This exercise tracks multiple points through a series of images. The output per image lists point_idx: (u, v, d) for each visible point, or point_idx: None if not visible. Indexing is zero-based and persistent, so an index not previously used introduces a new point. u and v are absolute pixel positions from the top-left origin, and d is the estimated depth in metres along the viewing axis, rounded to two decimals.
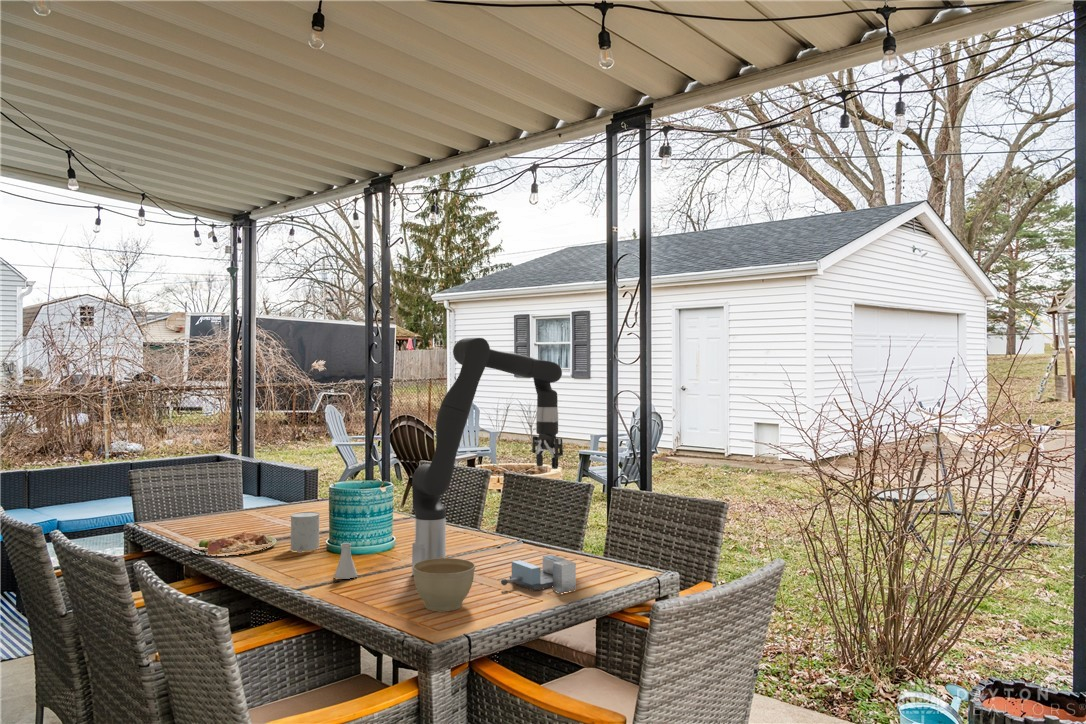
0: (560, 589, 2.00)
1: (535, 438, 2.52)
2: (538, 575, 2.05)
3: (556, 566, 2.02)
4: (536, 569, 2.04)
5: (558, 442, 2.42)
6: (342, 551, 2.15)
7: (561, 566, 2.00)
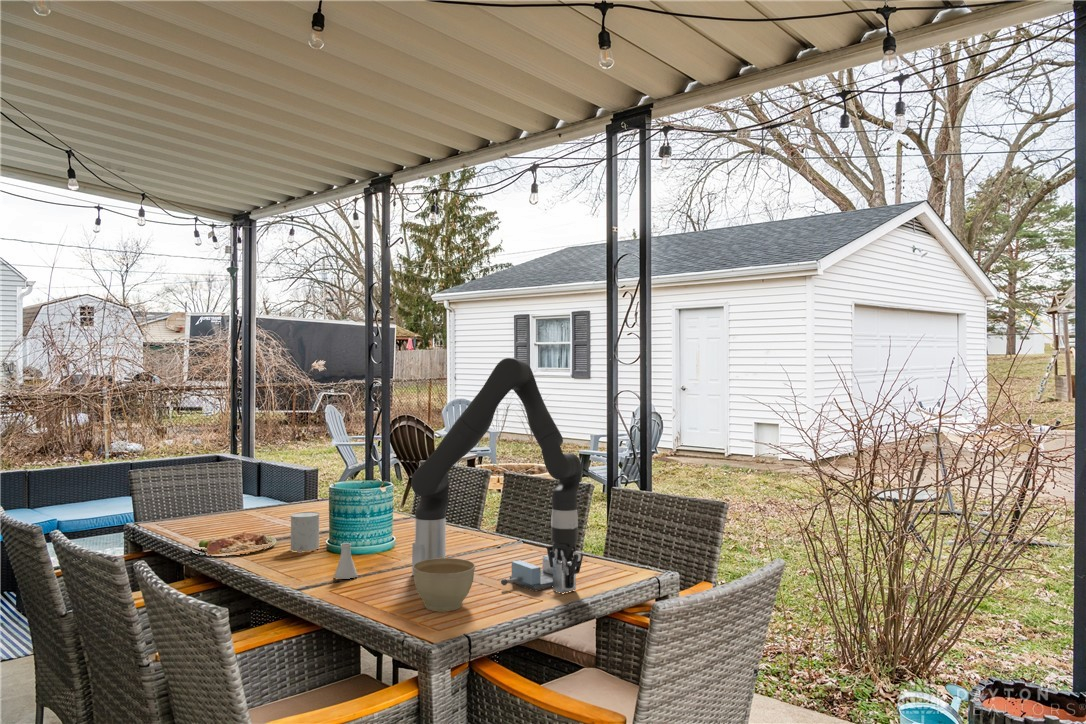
0: (560, 589, 2.00)
1: (550, 548, 2.07)
2: (538, 575, 2.05)
3: (556, 566, 2.02)
4: (536, 569, 2.04)
5: (577, 560, 1.97)
6: (342, 551, 2.15)
7: (561, 566, 2.00)
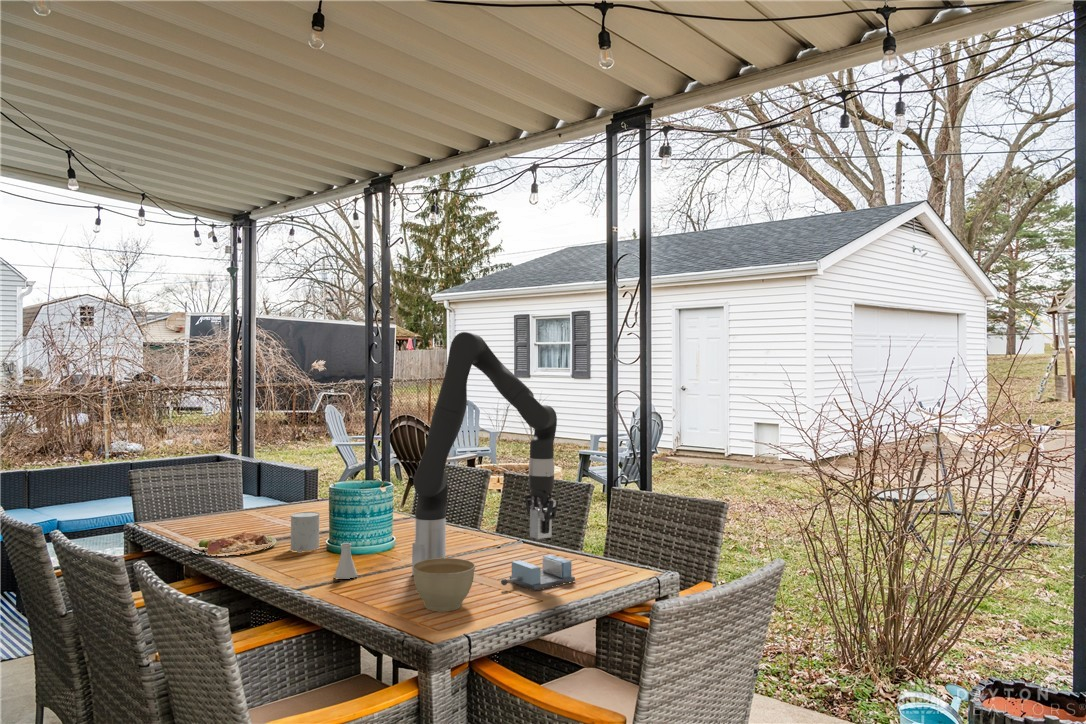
0: (536, 534, 2.09)
1: (528, 496, 2.16)
2: (538, 575, 2.05)
3: (532, 512, 2.11)
4: (536, 569, 2.04)
5: (552, 505, 2.06)
6: (342, 551, 2.15)
7: (537, 512, 2.09)
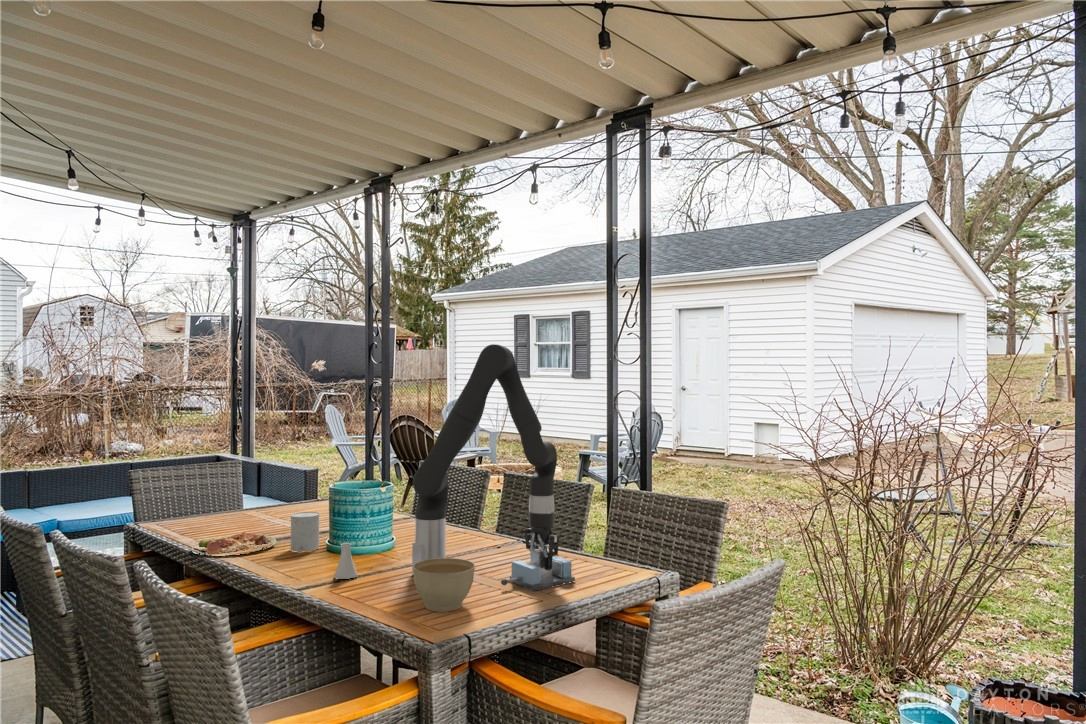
0: None
1: (528, 531, 2.16)
2: (538, 575, 2.05)
3: (533, 553, 2.11)
4: (536, 569, 2.04)
5: (554, 541, 2.06)
6: (342, 551, 2.15)
7: (538, 553, 2.09)
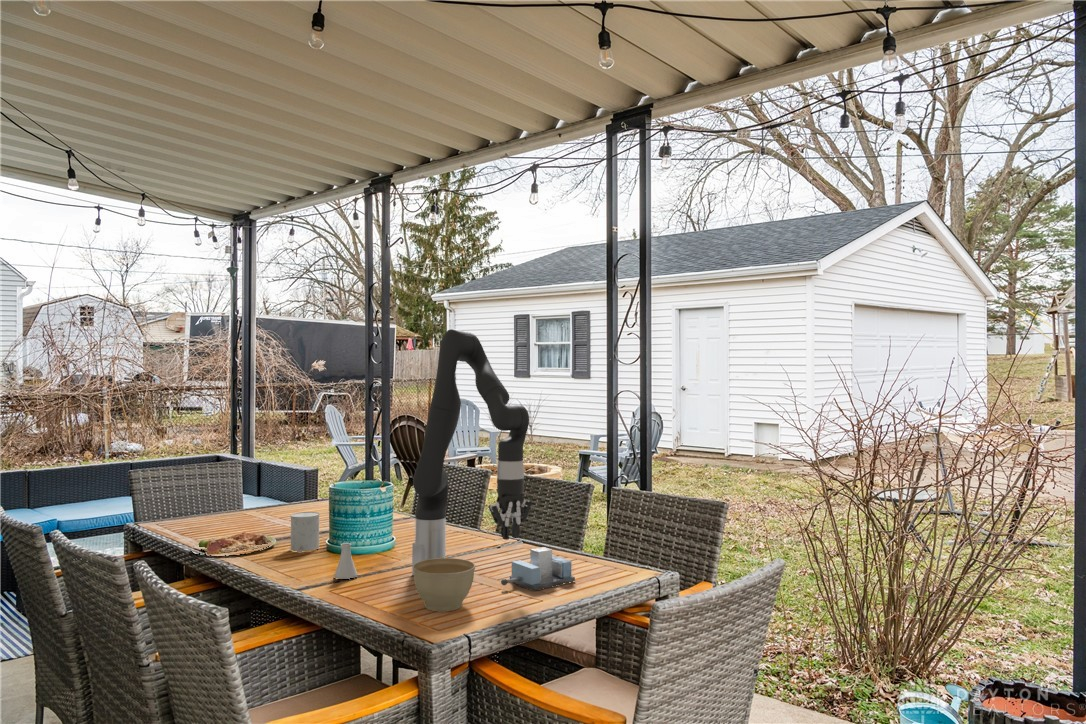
0: None
1: None
2: (538, 575, 2.05)
3: (533, 553, 2.11)
4: (536, 569, 2.04)
5: (491, 510, 1.98)
6: (342, 551, 2.15)
7: (538, 553, 2.09)
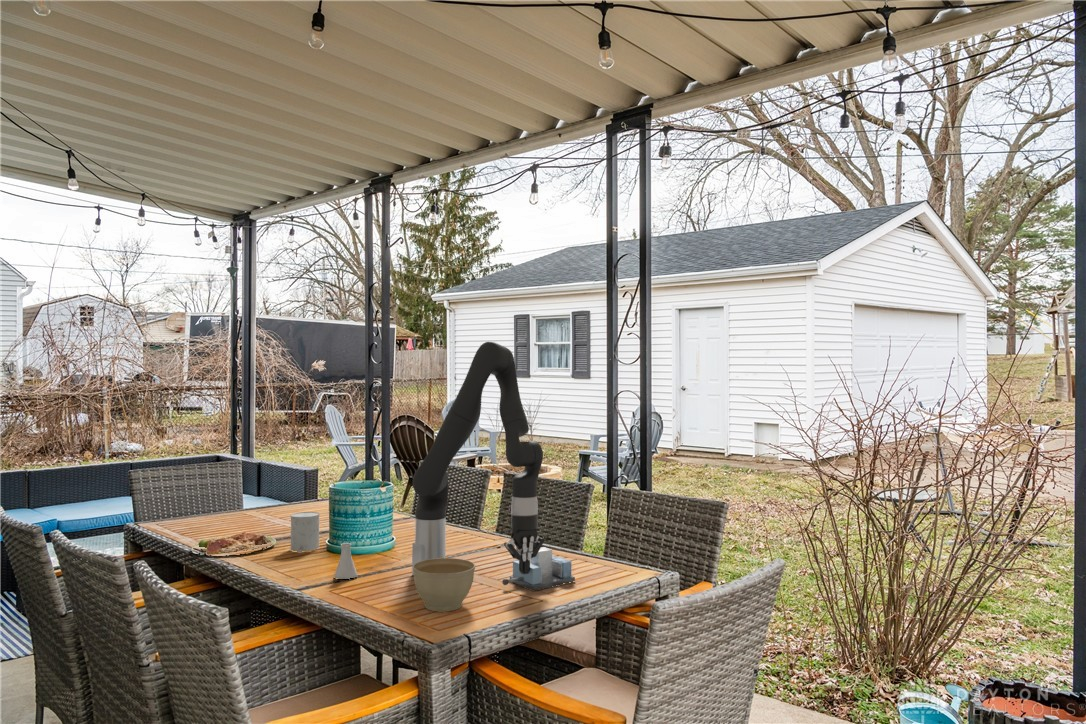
0: None
1: None
2: (539, 575, 2.05)
3: None
4: (537, 569, 2.05)
5: (507, 548, 2.01)
6: (342, 551, 2.15)
7: (538, 553, 2.09)
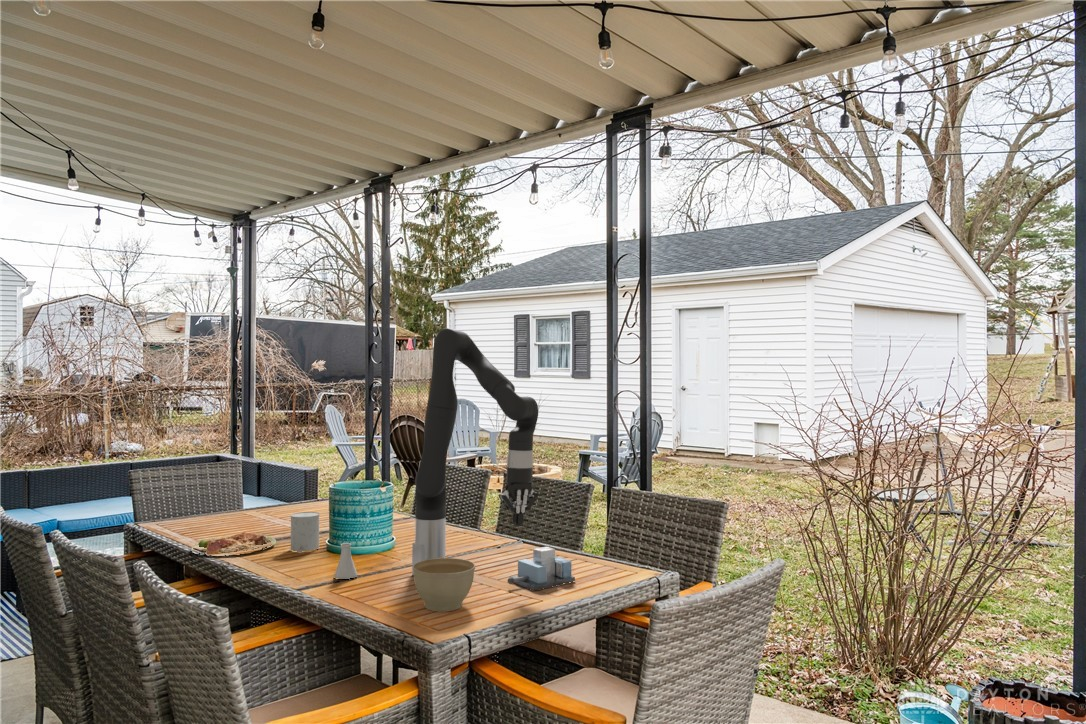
0: None
1: None
2: (544, 574, 2.06)
3: (536, 552, 2.11)
4: (542, 568, 2.06)
5: (501, 499, 2.05)
6: (342, 551, 2.15)
7: (541, 552, 2.10)
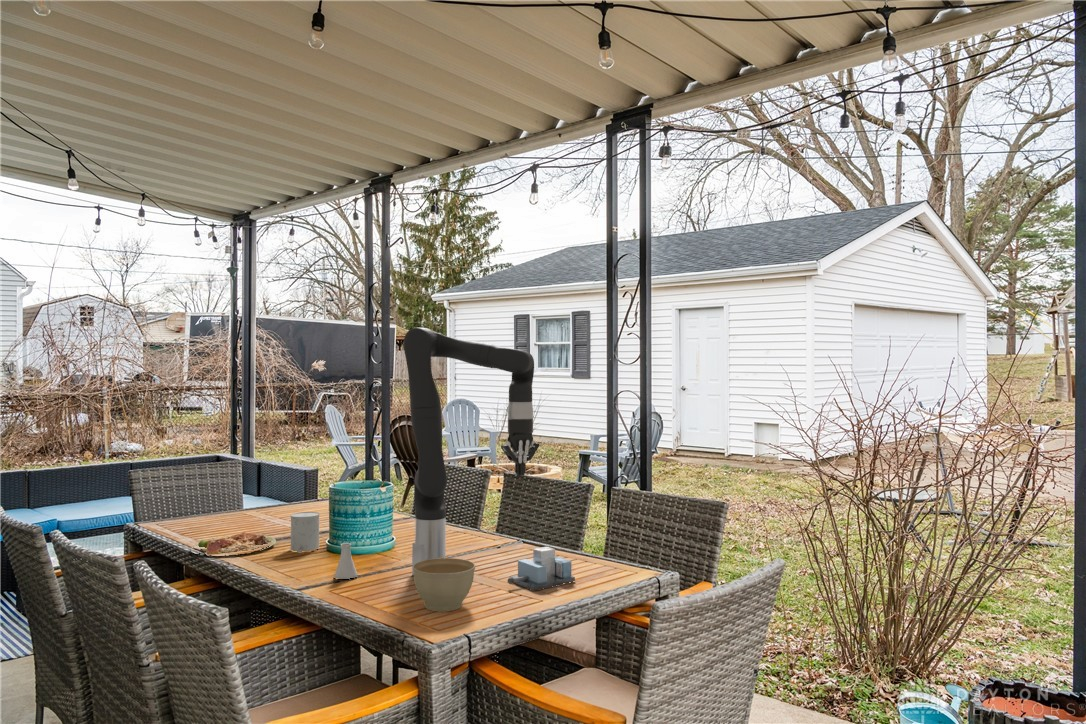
0: None
1: None
2: (544, 574, 2.06)
3: (536, 552, 2.11)
4: (542, 568, 2.06)
5: (503, 450, 2.11)
6: (342, 551, 2.15)
7: (541, 552, 2.10)
